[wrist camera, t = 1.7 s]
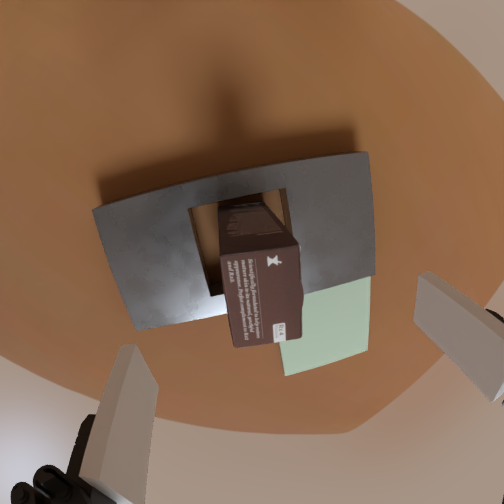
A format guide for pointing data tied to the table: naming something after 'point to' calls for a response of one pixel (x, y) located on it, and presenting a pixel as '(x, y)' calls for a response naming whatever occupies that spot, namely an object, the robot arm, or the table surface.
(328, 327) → the pad
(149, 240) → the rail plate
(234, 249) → the box
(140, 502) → the robot arm
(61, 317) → the table surface
